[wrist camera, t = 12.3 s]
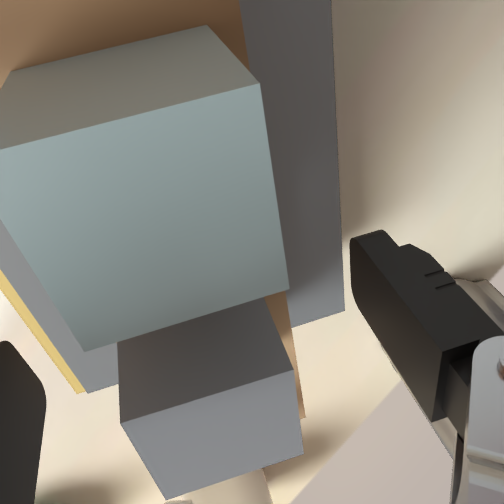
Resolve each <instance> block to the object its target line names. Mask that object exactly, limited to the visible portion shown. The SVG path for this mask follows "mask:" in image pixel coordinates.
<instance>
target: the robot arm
mask: <svg viewBox="0 0 504 504" xmlns="http://www.w3.org/2000/svg"><path fill="white" fill-rule="evenodd" d="M350 271H351V288H352V293H353V296H354V299H355V302H356V304H357V306H358V308H359V310H360V312H361V313H362V315H363V316H364V318H365V319H366V321H367V323H368V324H369V326H370V327H371V329H372V330H373V332H374V334H375V335H376V337H377V338H378V340H379V341H380V343H381V347H382V349H383V351H384V352H385V354H386V355H387V357H388V359H389V360H390V362H391V364H392V366H393V368H394V369H395V371H396V372H397V373H398V374H399V376H400V378H401V379H402V381H403V382H404V384H405V385H406V387H407V388H408V390H409V392H410V393H411V395H412V397H413V398H414V400H415V401H416V403H417V404H418V406H419V407H420V409H421V411H422V412H423V414H424V415H425V417H426V419H427V420H428V422H429V423H430V424H431V426H432V428H433V429H434V431H435V433H436V434H437V436H438V437H439V439H440V440H441V442H442V444H443V445H444V447H445V448H446V450H447V451H448V453H449V454H450V456H451V458H452V459H453V469H452V479H451V491H450V502H449V504H504V296H503V295H502V294H501V293H500V292H499V291H498V290H497V289H496V288H495V287H493V285H492V284H491V283H489V282H488V281H487V280H482V281H479V282H471V281H468V280H465V279H453V278H452V277H451V276H450V275H449V274H448V273H447V272H445V271H444V268H443V267H442V266H441V265H440V264H439V263H438V262H437V261H436V260H435V259H434V258H433V257H432V256H431V255H430V254H429V253H427V252H425V251H423V250H421V249H419V248H417V247H415V246H413V245H411V244H407V245H403V246H400V247H399V246H398V245H397V244H396V243H395V242H394V241H393V239H392V238H391V237H390V236H389V235H388V234H387V233H386V232H385V231H384V230H377V231H374V232H371V233H367V234H364V235H361V236H357V237H354V238H351V240H350ZM45 413H46V395H45V391H44V388H43V385H42V383H41V381H40V380H39V378H38V377H37V376H36V374H35V373H34V372H33V370H32V369H31V368H30V367H29V365H28V364H27V363H26V361H25V360H24V359H23V358H22V356H21V355H20V354H19V352H18V351H17V350H16V349H15V347H14V346H13V345H12V344H11V343H10V342H8V341H2V342H0V504H34V499H35V491H36V483H37V475H38V467H39V460H40V452H41V444H42V436H43V428H44V421H45Z"/></svg>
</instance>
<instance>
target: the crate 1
mask: <svg viewBox="0 0 504 504" xmlns="http://www.w3.org/2000/svg"><path fill="white" fill-rule="evenodd" d="M0 219H1V221H2V222H3V224H4V226H5V227H6V229H7V230H8V232H9V234H10V235H11V237H12V238H13V240H14V241H15V243H16V245H17V246H18V248H19V249H20V251H21V252H22V254H23V256H24V257H25V259H26V260H27V262H28V264H29V265H30V267H31V268H32V270H33V271H34V273H35V275H36V276H37V278H38V279H39V281H40V283H41V284H42V286H43V287H44V289H45V290H46V292H47V294H48V295H49V297H50V298H51V300H52V301H53V303H54V305H55V306H56V308H57V309H58V311H59V313H60V314H61V316H62V317H63V319H64V320H65V322H66V324H67V325H68V327H69V328H70V330H71V332H72V333H73V335H74V336H75V338H76V339H77V341H78V343H79V344H80V346H81V347H82V349H83V350H84V352H87V351H90V350H93V349H97V348H100V347H103V346H106V345H110V344H113V343H116V342H119V341H122V340H126V339H129V338H132V337H135V336H139V335H142V334H145V333H148V332H152V331H155V330H158V329H161V328H165V327H168V326H171V325H174V324H178V323H181V322H184V321H187V320H190V319H194V318H197V317H200V316H203V315H207V314H210V313H213V312H216V311H220V310H223V309H226V308H229V307H233V306H236V305H239V304H242V303H246V302H249V301H252V300H255V299H258V298H262V297H265V296H268V295H271V294H275V293H278V292H281V291H284V290H288V289H290V288H289V281H288V274H287V267H286V260H285V253H284V246H283V239H282V233H281V226H280V219H279V212H278V205H277V198H276V191H275V184H274V178H273V171H272V164H271V157H270V150H269V143H268V136H267V129H266V123H265V116H264V109H263V102H262V95H261V88H260V83H259V82H258V81H257V80H256V78H255V77H254V76H253V75H252V74H251V73H250V72H249V71H248V70H247V68H246V67H245V66H244V65H243V64H242V63H241V62H240V61H239V60H238V59H237V57H236V56H235V55H234V54H233V53H232V52H231V51H230V50H229V49H228V47H227V46H226V45H225V44H224V43H223V42H222V41H221V40H220V39H219V38H218V36H217V35H216V34H215V33H214V32H213V31H212V30H211V29H210V28H209V26H208V25H203V26H199V27H195V28H191V29H186V30H182V31H178V32H174V33H170V34H165V35H161V36H157V37H153V38H149V39H145V40H140V41H136V42H132V43H128V44H124V45H119V46H115V47H111V48H107V49H103V50H99V51H94V52H90V53H86V54H82V55H78V56H73V57H69V58H65V59H61V60H57V61H53V62H48V63H44V64H40V65H36V66H32V67H27V68H23V69H19V70H15V71H11V72H10V73H9V75H8V77H7V78H6V80H5V82H4V84H3V86H2V88H1V89H0Z"/></svg>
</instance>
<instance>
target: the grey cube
mask: <svg viewBox="0 0 504 504" xmlns="http://www.w3.org/2000/svg"><path fill="white" fill-rule="evenodd" d="M117 354H118V379H119V405H120V424H121V426H122V427H123V429H124V431H125V432H126V434H127V436H128V437H129V439H130V441H131V442H132V444H133V446H134V447H135V449H136V451H137V452H138V454H139V456H140V457H141V459H142V461H143V463H144V464H145V466H146V468H147V469H148V471H149V473H150V474H151V476H152V478H153V479H154V481H155V483H156V484H157V486H158V488H159V489H160V491H161V493H162V494H163V496H164V498H165V499H166V500H168V499H171V498H174V497H177V496H180V495H183V494H186V493H189V492H192V491H195V490H198V489H201V488H204V487H207V486H210V485H213V484H216V483H219V482H222V481H225V480H228V479H231V478H234V477H237V476H240V475H243V474H246V473H249V472H252V471H255V470H258V469H261V468H264V467H267V466H270V465H273V464H276V463H279V462H282V461H285V460H288V459H290V458H293V457H296V456H299V455H302V454H304V452H303V443H302V435H301V426H300V418H299V409H298V401H297V392H296V384H295V375H294V369H293V366H292V364H291V362H290V359H289V357H288V354H287V352H286V350H285V347H284V345H283V342H282V340H281V338H280V335H279V333H278V331H277V328H276V326H275V323H274V321H273V319H272V316H271V314H270V311H269V309H268V307H267V304H266V302H265V299H264V297H262V298H258V299H255V300H252V301H249V302H246V303H242V304H239V305H236V306H233V307H229V308H226V309H223V310H220V311H216V312H213V313H210V314H207V315H203V316H200V317H197V318H194V319H190V320H187V321H184V322H181V323H178V324H174V325H171V326H168V327H165V328H161V329H158V330H155V331H152V332H148V333H145V334H142V335H139V336H135V337H132V338H129V339H126V340H122V341H119V342H117Z"/></svg>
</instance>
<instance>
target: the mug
mask: <svg viewBox="0 0 504 504" xmlns="http://www.w3.org/2000/svg"><path fill="white" fill-rule="evenodd" d="M181 496H182V500H179V501H168V502H165V503H164V504H273V502H272V499H271V495H270V492H269V488H268V485H267V481H266V478H265V474H264V471H263V469H262V468H261V469H258V470H255V471H252V472H249V473H246V474H243V475H240V476H237V477H234V478H231V479H228V480H225V481H222V482H219V483H216V484H213V485H210V486H207V487H204V488H201V489H198V490H195V491H192V492H189V493H186V494H183V495H181Z"/></svg>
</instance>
